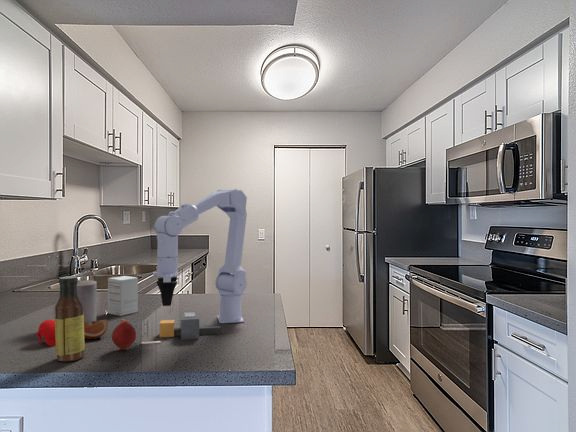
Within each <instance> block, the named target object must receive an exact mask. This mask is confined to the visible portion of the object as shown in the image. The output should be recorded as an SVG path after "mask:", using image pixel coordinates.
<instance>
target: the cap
mask: <svg viewBox="0 0 576 432" xmlns="http://www.w3.org/2000/svg"><path fill="white" fill-rule="evenodd" d="M35 333H36V336H37V337H38V343H39V344H41V343H42V338H44V341H45V342H44V343H46V345H48V346H49V347H56V336H55V319H46V320H44V321H42V322H41V323H40V324H39V326H38V331H36V332H35Z"/></svg>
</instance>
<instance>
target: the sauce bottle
mask: <svg viewBox="0 0 576 432" xmlns="http://www.w3.org/2000/svg"><path fill="white" fill-rule="evenodd" d="M77 282H78V276H74V275H71V276H69V275H68V276H62V277H59V278H58V284H59V289H60V291H59V299H58V300H57V302H56V305H55V307H54V310H55V311H54V314H55V315H54V316H55V318H54V321H55V336H56V345H55V354H56V361H58V362H64V363H67V362H74V361H78V360H81V359H82V358H84V356H85V338H84V312H83V307H82V304H81V302H80V300H79V297H78V292H77Z"/></svg>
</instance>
